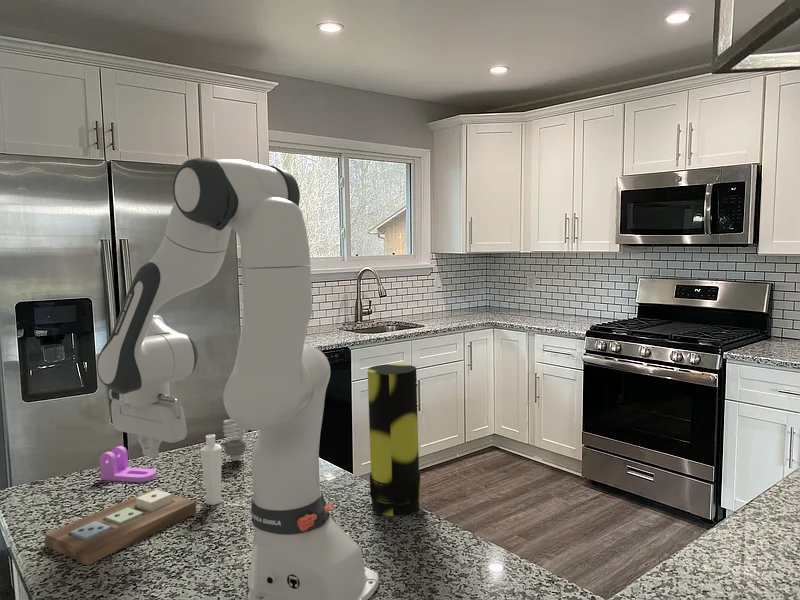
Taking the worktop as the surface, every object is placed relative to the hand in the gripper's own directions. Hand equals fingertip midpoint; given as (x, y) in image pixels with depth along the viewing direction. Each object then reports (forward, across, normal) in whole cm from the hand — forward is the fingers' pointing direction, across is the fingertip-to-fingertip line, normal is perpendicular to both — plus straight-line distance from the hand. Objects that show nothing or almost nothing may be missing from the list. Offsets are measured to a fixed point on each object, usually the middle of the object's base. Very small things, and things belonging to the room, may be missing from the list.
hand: (150, 456), depth 126 cm
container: (+13, -43, -28) cm, 53 cm away
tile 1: (+11, 0, 0) cm, 11 cm away
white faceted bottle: (+13, -6, -11) cm, 18 cm away
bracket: (+13, +24, -11) cm, 30 cm away
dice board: (+13, 0, +7) cm, 15 cm away
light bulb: (+13, +9, -31) cm, 35 cm away
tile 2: (+12, 0, +7) cm, 14 cm away
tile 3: (+13, 0, +14) cm, 19 cm away
